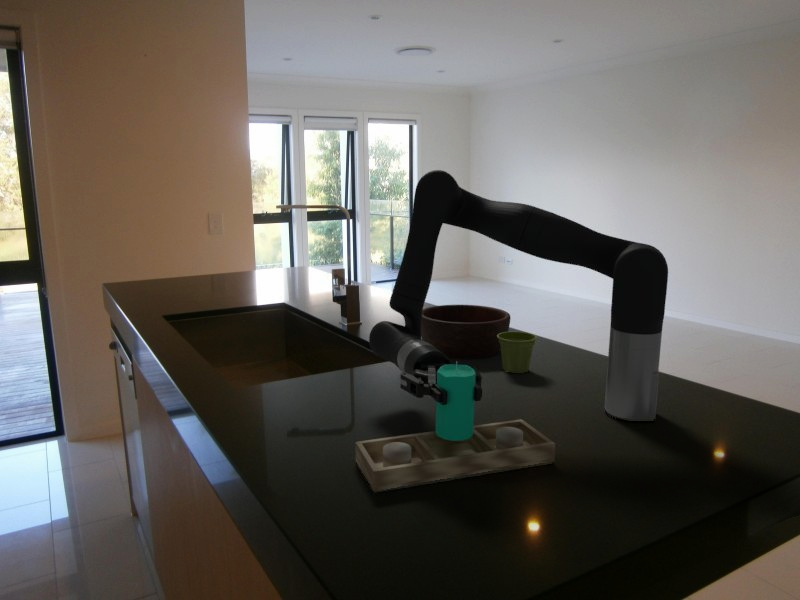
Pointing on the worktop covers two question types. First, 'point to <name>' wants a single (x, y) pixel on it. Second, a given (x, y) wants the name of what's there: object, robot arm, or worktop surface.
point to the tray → (451, 454)
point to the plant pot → (516, 350)
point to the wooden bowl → (464, 329)
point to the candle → (456, 402)
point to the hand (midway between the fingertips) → (462, 396)
